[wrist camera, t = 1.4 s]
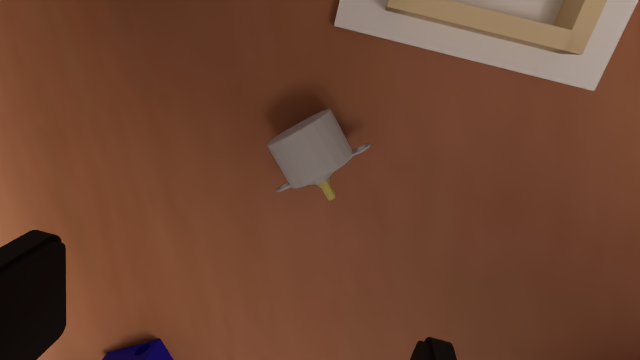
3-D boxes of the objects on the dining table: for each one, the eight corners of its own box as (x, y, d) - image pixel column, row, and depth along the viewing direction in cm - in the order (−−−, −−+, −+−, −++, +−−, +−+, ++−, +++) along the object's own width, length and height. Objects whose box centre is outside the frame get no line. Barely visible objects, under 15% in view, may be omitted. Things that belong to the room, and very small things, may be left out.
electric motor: (296, 196, 29) (282, 226, 24) (263, 140, 27) (241, 160, 23) (381, 156, 27) (383, 180, 22) (349, 94, 26) (344, 105, 21)
